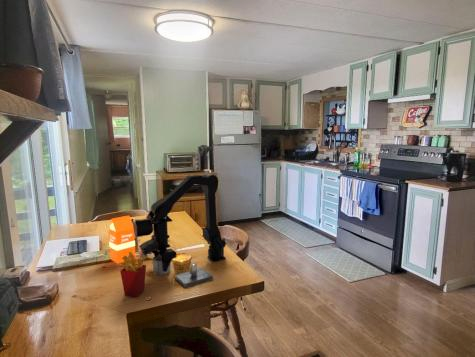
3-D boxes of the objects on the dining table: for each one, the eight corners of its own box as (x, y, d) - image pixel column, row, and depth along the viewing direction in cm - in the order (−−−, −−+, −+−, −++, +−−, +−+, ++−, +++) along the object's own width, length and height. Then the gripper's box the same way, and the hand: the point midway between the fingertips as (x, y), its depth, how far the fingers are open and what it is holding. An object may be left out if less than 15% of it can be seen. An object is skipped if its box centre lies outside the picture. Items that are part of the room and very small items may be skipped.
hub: (166, 266, 132) (166, 253, 131) (172, 272, 126) (172, 258, 126) (151, 270, 128) (150, 257, 127) (157, 276, 123) (156, 262, 122)
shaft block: (202, 271, 127) (201, 257, 127) (212, 279, 120) (212, 264, 119) (175, 278, 121) (174, 264, 120) (184, 287, 113) (184, 272, 112)
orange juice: (136, 258, 142) (133, 216, 139) (117, 263, 135) (115, 220, 133) (127, 253, 147) (125, 213, 145) (110, 259, 141) (107, 217, 138)
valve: (137, 260, 139) (163, 260, 139) (136, 247, 138) (162, 246, 139) (141, 255, 146) (166, 254, 146) (140, 242, 145) (165, 241, 145)
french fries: (148, 290, 111) (146, 251, 110) (135, 301, 103) (133, 260, 102) (126, 287, 113) (124, 249, 111) (113, 298, 105) (110, 257, 104)
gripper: (134, 230, 128) (136, 265, 130) (148, 242, 113) (150, 282, 115) (159, 226, 134) (161, 259, 136) (176, 237, 119) (177, 274, 121)
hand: (162, 268), depth 127 cm, fingers closed on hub, 7 cm apart
